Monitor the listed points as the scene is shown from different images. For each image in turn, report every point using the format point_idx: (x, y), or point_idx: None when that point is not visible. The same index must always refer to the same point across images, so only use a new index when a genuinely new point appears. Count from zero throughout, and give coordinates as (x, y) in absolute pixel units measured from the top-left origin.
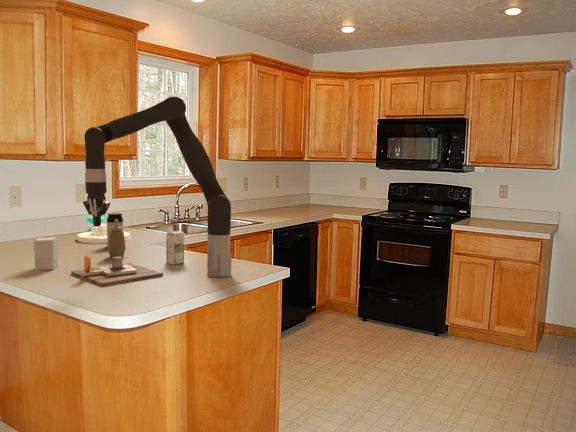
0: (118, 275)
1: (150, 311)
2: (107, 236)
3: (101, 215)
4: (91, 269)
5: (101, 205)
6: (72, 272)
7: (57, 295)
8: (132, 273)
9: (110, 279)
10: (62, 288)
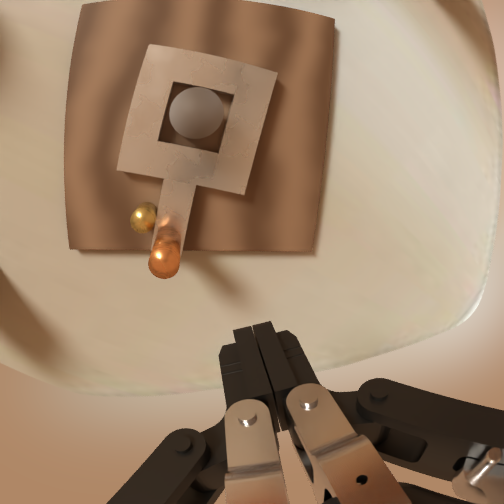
0: None
1: (489, 267)
2: None
3: (348, 397)
4: (155, 218)
5: (421, 495)
6: (80, 248)
7: None
8: None
9: (286, 203)
10: None
